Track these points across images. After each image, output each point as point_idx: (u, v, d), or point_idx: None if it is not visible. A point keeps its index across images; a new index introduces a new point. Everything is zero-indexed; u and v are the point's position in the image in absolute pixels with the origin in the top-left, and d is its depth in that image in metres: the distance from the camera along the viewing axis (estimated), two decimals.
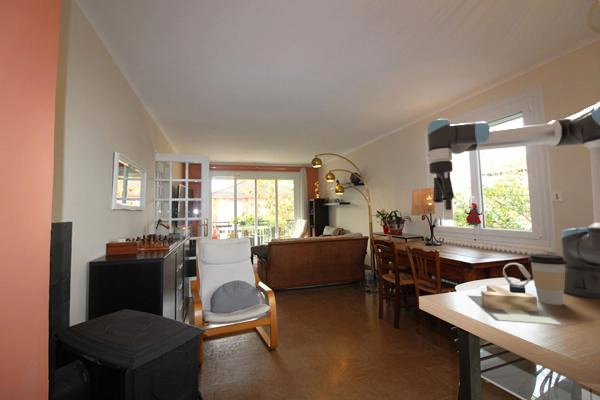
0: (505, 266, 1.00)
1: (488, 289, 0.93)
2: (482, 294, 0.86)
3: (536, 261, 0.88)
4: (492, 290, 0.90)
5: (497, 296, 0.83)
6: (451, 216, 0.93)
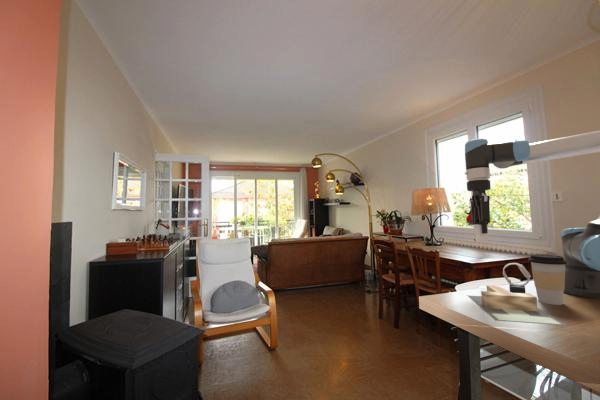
0: (505, 266, 1.00)
1: (488, 289, 0.93)
2: (482, 294, 0.86)
3: (536, 261, 0.88)
4: (492, 290, 0.90)
5: (497, 296, 0.83)
6: (487, 239, 1.00)
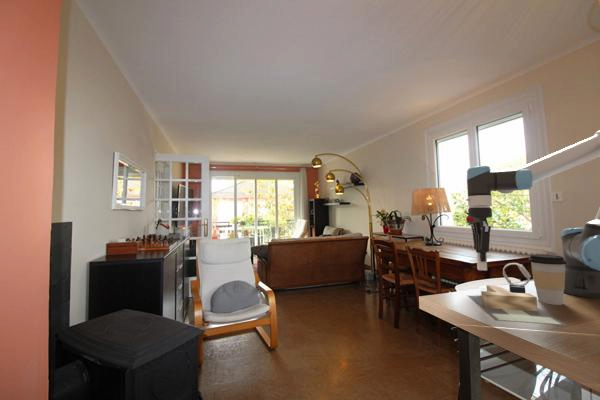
0: (505, 266, 1.00)
1: (488, 289, 0.93)
2: (482, 294, 0.86)
3: (536, 261, 0.88)
4: (492, 290, 0.90)
5: (497, 296, 0.83)
6: (485, 267, 1.02)
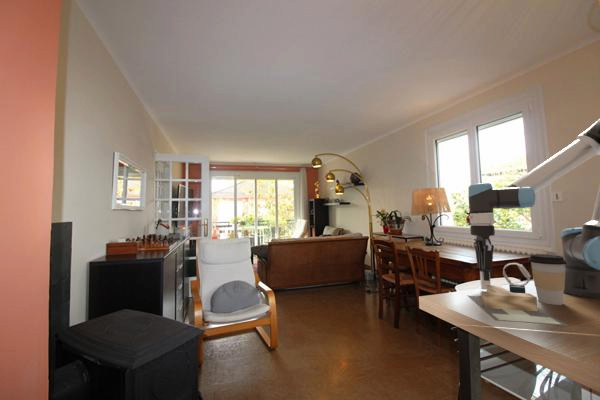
0: (505, 266, 1.00)
1: (488, 289, 0.93)
2: (482, 294, 0.86)
3: (536, 261, 0.88)
4: (492, 290, 0.90)
5: (497, 296, 0.83)
6: None
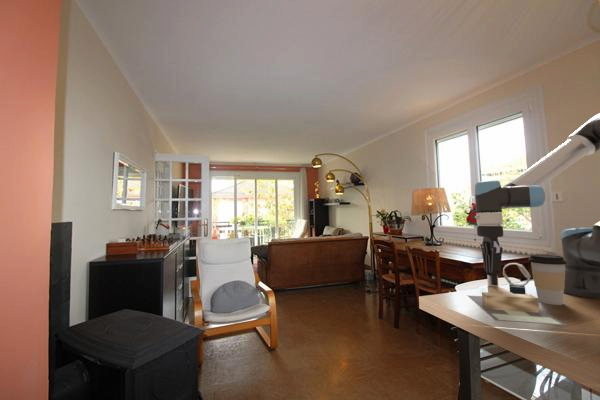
0: (505, 266, 1.00)
1: (489, 290, 0.92)
2: (483, 295, 0.85)
3: (536, 261, 0.88)
4: (493, 291, 0.89)
5: (498, 297, 0.82)
6: None
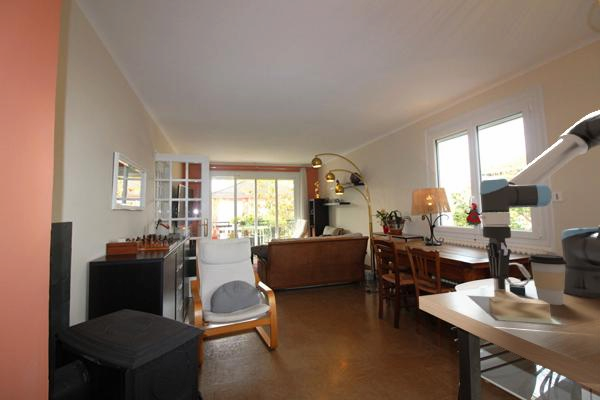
0: None
1: (496, 294, 0.87)
2: (490, 300, 0.80)
3: (536, 261, 0.88)
4: (500, 296, 0.84)
5: (506, 303, 0.76)
6: None
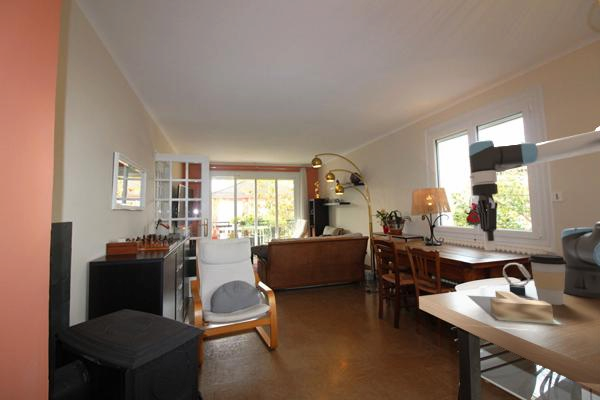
0: (505, 266, 1.00)
1: (497, 295, 0.86)
2: (491, 301, 0.79)
3: (536, 261, 0.88)
4: (502, 297, 0.83)
5: (508, 304, 0.76)
6: (493, 247, 0.96)
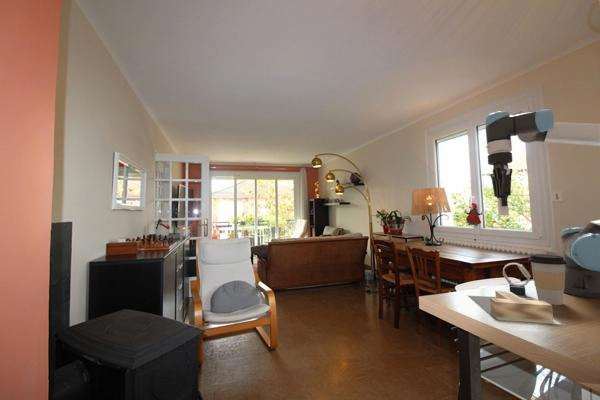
0: (505, 266, 1.00)
1: (497, 295, 0.86)
2: (491, 301, 0.79)
3: (536, 261, 0.88)
4: (502, 297, 0.83)
5: (508, 304, 0.76)
6: (507, 212, 1.02)
